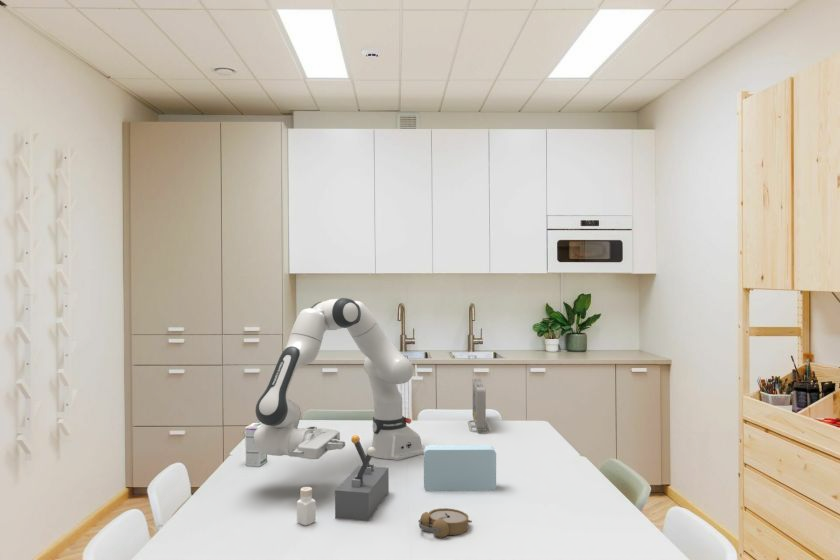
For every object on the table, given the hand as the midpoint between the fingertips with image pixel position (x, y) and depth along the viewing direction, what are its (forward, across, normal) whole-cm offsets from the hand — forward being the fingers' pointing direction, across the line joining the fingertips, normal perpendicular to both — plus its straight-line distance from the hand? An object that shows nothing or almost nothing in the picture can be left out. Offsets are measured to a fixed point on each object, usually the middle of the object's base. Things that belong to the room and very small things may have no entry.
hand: (343, 445), depth 184 cm
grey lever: (+8, -11, +7) cm, 15 cm away
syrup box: (-42, +23, +16) cm, 51 cm away
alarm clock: (+34, -17, +16) cm, 42 cm away
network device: (+33, +91, +16) cm, 98 cm away
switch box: (+8, -6, +16) cm, 19 cm away
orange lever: (+8, 0, +7) cm, 11 cm away
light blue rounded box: (+35, +14, +16) cm, 41 cm away
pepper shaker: (-4, -21, +16) cm, 27 cm away
